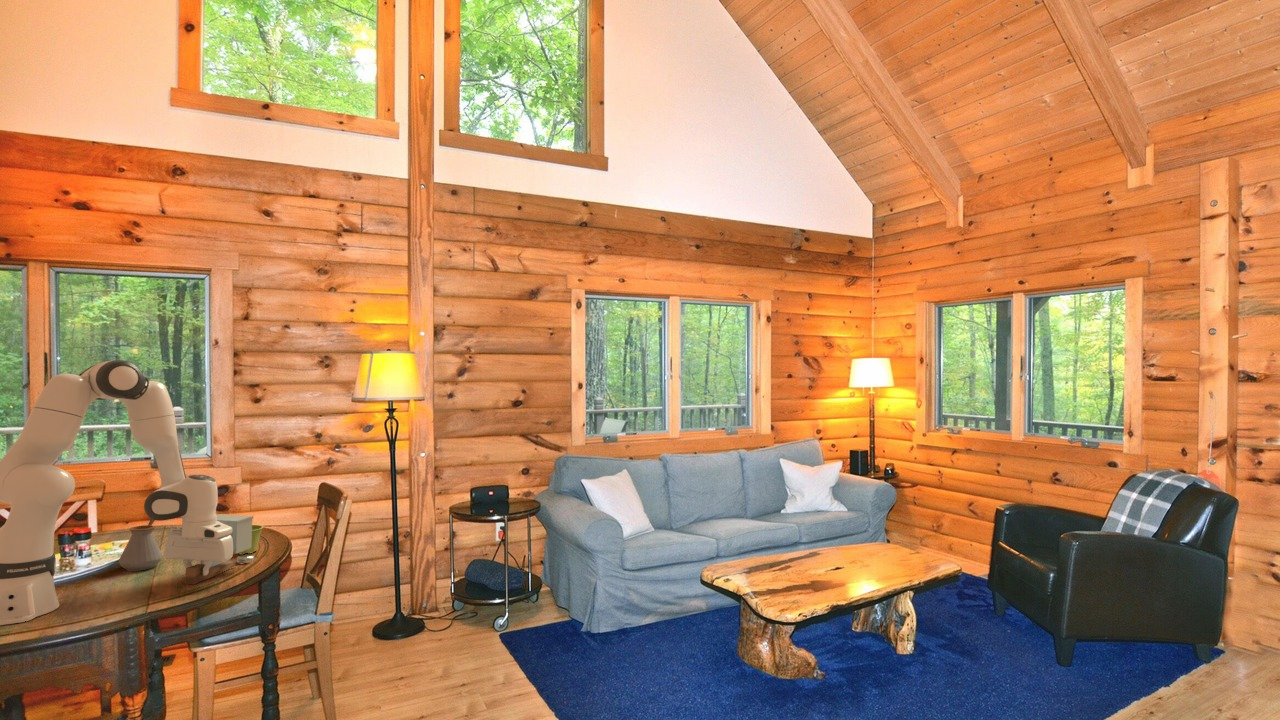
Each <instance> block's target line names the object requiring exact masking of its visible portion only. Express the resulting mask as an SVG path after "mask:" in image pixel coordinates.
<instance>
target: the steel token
mask: <svg viewBox="0 0 1280 720" xmlns="http://www.w3.org/2000/svg"><path fill="white" fill-rule="evenodd" d="M253 560H254V561H255V555H254V554H245V555H243V554H240V555H239V556H237V557H236V563H237V562H238V563H246V562H251V561H253Z"/></svg>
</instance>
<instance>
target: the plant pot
mask: <svg viewBox="0 0 1280 720" xmlns="http://www.w3.org/2000/svg"><path fill="white" fill-rule="evenodd" d="M263 529H264V526H263V525H260V524H252V546H251V548H250V549H247V550H244V551H242V552H239V553H248V554H251V553H250V552H254V551H256V550H257V551H258V547H259V543H260V542H259V541H260V536H261V533H262V531H263Z"/></svg>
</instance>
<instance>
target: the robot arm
mask: <svg viewBox="0 0 1280 720" xmlns="http://www.w3.org/2000/svg"><path fill="white" fill-rule="evenodd" d="M97 400H101V401H105V400H119V401H121V402H122V403H123V405H124V406H125V408H126V410H127V416H128V421H129V422H128V423H129V427H130V431H131V435H132V437H133V439H134V442H135V443H136V444H137V445H139V446H140V447H142V448H144V449H146V450H147V451H149V452H150V453H151V454H152V455H153V456H154V458H155V461H156V464H157V468H158V472H159V476H160V481H161V485H160V488H158V489H156V490H155V491H152V493H150V494H149V495H148V496H147V497H146V498H145V500H144V503H143V504H144V505H143V510H144V512H145V514H146V515H147V516H148V517H149V518H150V519H151V518H152V519H154V520H155V521H169V520H174V519H177V518H181V519H182V521H181V523H182V525H181V527H176V526H175V527H174V526H173V527H171V528H170V529H169V530H168V531H167V532H166V540H165V543H164V551H163V557H165V559H167V560H182V564H183V565H184V567H185V569H186V568H188V567H191V566H193V563H192V562H193V561H200V562H201V561H204V564H205V566H204V568H203V569H201V570H200V575H208V573H209V568H210V566H211V565H212V563H213V562H220V563H223V562H225V561H231V559H232V557H233V555H234V554H233V539H232V537H231V536H230V535H229V534H231V533H232V527H230V526H228V525H225V524H223V523H221V522H219V521H217V507H218V503H219V501H218V499H219V495H218V494H219V493H218V491H219V489H218V484H217V481H216V479H215V478H213V476H209V475H205V474H190V475H188V476H187V475H186V471H185V466H184V463H183V458H182V455H181V454H182V453H181V451H180V446H179V441H178V432H177V423H176V422H177V421H176V416H175V410H174V406H173V403H172V399H171V396H170V394H169V391H168V388H167V386H166V385H165V384H163V383H162V382H160V381H157V380H156V381H155V380H149V379H148V377H147V376H146V375H145V374H144V373H143V372H142V371H141V370H140V368H139V367H138V366H137V365H136V364H134V363H132V362H131V361H127V360H121V359H118V360H106V361H102V362H99V363H97V364H93V365H91V366H90V367H87V368H85V370H83V372H81V373H79V374H78V375H77V374H74V373H60V374H56V375H54V376H52V377H51V378H50V379H49V380H48V382H47V383H46V384H45V385H44V388H42V391H41V392H40V394H39V395H38V396H37V398H36V400H35V403H34V405H33V407H32V409H31V412H30V414H29V415H28V417H27V420H26V422H25V424H24V426H23V429H22V431H21V432H20V434H19V436H18V438H17V439H16V441H15V442H14V443H13V445H12V446H11V447H10V448H9V450H8V451H7V452H6V453H5V455H4V456H3V457H2V458H1V460H0V503H2V504H3V503H4V504H9V505H10V510H9V513H8V517H7V519H6V520H5V523H4V524H3V525H1V526H0V626H4V625H12V624H17V623H26V622H28V621H31V620H33V619H35V618H36V617H37V618H38V617H39V616H43V615H46V614H49V613H51V612H53V611H55V610H57V609H58V608H59V607H60V602H59V600H58V596H57V593H56V587H55V579H54V576H55V573H56V567H57V566H56V563H57V558H56V554H55V553H54V546H55V545H54V544H55V531H56V530H55V529H56V523H57V521H58V517H59V513H60V512H61V509H62V506H63V505H64V504H65V502H67V501H68V500H69V499H70V498H71V497H72V495H73V494H74V492H75V488H76V479H75V478H74V476H73V475H72V474H71V473H70V472H69V471H67V470H65V469H64V468H63V469H62V468H61V467H58V466H56V465H54V463H56V461H57V459H58V458H59V457H60V456H62V454H63V453H65V452H66V451H67V450H69V449H70V448H71V447H73V445H74V444H75V440H76V438H77V437H78V433H79V431H80V428H81V426H82V424H83V422H84V419H85V416H86V413H87V411H88V409H89V407H90V406H91V404H92V403H93V402H94V401H97ZM25 621H26V622H25Z"/></svg>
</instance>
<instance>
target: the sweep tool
mask: <svg viewBox="0 0 1280 720" xmlns="http://www.w3.org/2000/svg"><path fill="white" fill-rule="evenodd" d="M236 564H237V560H228V561H225V562H220V564H218V565H215V566H212V567H210V568H209V573H208V575H200V570H201V569H203V568H204V566H205V564H201V563H197V564H194V565H192V566H191V567H188V568H185V582H184V583H185V584H187V585H188V584H189V585H196V584H198V583H201V582H203V581H205V580H208V579H210V578H212V577H215V576H218V575H221V574H222V572H223V573H225V572H227V571H226V570H228V569H230V568H232V567H234V566H235V567H236ZM232 569H233V568H232ZM230 570H231V569H230ZM224 571H225V572H224ZM228 571H229V570H228Z"/></svg>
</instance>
